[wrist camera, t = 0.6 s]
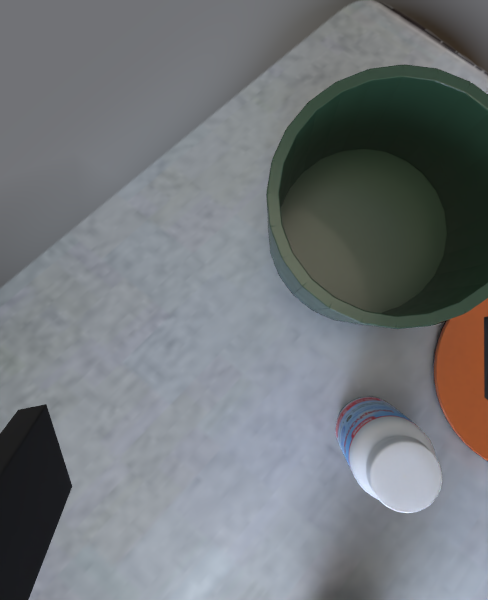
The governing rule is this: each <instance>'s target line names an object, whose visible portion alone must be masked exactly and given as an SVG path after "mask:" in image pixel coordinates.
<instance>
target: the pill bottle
mask: <svg viewBox="0 0 488 600" xmlns="http://www.w3.org/2000/svg"><path fill="white" fill-rule="evenodd" d="M336 437H337V441H338V444H339V446H340V448H341V450H342V452H343V454H344V456H345V458H346V460H347V462H348V464H349V467H350V469H351V471H352V473H353V475H354V477H355V479H356V480H357V482H358V484H359V485H360V486H361V487H362V488H363V489H364V490H365V491H366V492H367V493H368V494H370V495H371V496H373V497H374V498H376V499H378V500H380V501H381V502H382V503H383V504H384V505H385V506H387V507H388V508H390V509H392V510H394V511H397V512H402V513H413V512H418V511H420V510H423V509H425V508H426V507H428V506H429V505H431V504H432V503H433V501H434V500H435V499H436V497H437V496H438V494H439V492H440V490H441V486H442V470H441V466H440V464H439V462H438V460H437V458H436V455H435V451H434V448H433V445H432V443H431V441H430V439H429V438H428V437H427V435H426V434H425V433H424V432H423V431H422V430H421V429H420V428H419V427H418V426H417V425H416V424H414V423H413V422H412V421H411V420H410V419H408V418H407V417H406V416H405V415H403V414H402V413H401V412H400V411H398V410H397V409H396V408H395V407H393V406H392V405H391V404H389V403H387V402H386V401H384V400H382V399H379V398H375V397H362V398H358V399H355V400H353V401H351V402H350V403H349V404H347V405H346V406H345V407H344V408H343V409H342V411H341V412H340V414H339V416H338V419H337V422H336Z"/></svg>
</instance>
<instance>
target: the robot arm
mask: <svg viewBox="0 0 488 600" xmlns="http://www.w3.org/2000/svg"><path fill="white" fill-rule="evenodd" d="M484 398H486V399H487V400H488V316H487V317H484ZM71 488H72V484H71V481H70V478H69V475H68V472H67V469H66V465H65V462H64V459H63V456H62V453H61V450H60V446H59V443H58V440H57V437H56V434H55V431H54V427H53V424H52V421H51V418H50V415H49V412H48V409H47V405H41V406H36V407H31V408H26V409H21V410H18V411H17V412H16V414H15V415H14V416H13V418H12V419H11V420H10V422H9V423H8V424H7V426H6V427H5V428H4V430H3V431H2V432H1V433H0V600H28V599H29V597H30V594H31V591H32V589H33V586H34V584H35V581H36V578H37V576H38V573H39V571H40V568H41V565H42V563H43V560H44V558H45V555H46V553H47V550H48V547H49V545H50V542H51V540H52V537H53V534H54V532H55V529H56V527H57V524H58V522H59V519H60V516H61V514H62V511H63V509H64V506H65V503H66V501H67V498H68V496H69V493H70V490H71Z"/></svg>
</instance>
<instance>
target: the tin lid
mask: <svg viewBox="0 0 488 600" xmlns="http://www.w3.org/2000/svg"><path fill="white" fill-rule="evenodd" d="M487 316H488V298H487V299H486V300H484V301H483V302H482V303H480V304H479V305H477V306H476V307H474V308H473V309H472V310H470V311H469V312H467V313H465V314H463V315H460V316H457V317H455V318H452V319H449V320H447V321H446V323H445V325H444V327H443V329H442V331H441V334H440V337H439V339H438V343H437V347H436V352H435V359H434V381H435V387H436V392H437V396H438V399H439V402H440V406H441V408H442V410H443V412H444V414H445V417H446V419H447V420H448V422H449V424H450V425H451V427H452V428H453V430H454V431H455V432H456V434H457V435H458V436H459V437H460V438H461V440H462V441H463V442H464V443H465V444H466V445H467V446H468V447H470V448H471V449H472V450H473V451H474V452H475V453H477V454H478V455H480V456H481V457H482V458H484V459H485V460H487V461H488V400H487V399H486V398H484V317H487Z"/></svg>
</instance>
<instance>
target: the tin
mask: <svg viewBox="0 0 488 600" xmlns="http://www.w3.org/2000/svg"><path fill="white" fill-rule="evenodd" d="M267 213H268V231H269V242H270V252H271V255H272V258H273V261H274V264H275V266H276V269H277V271H278V274H279V276H280V277H281V279H282V280H283V282H284V283H285V285H286V286H287V287H288V288H289V290H290V291H291V293H292V294H293V295H294V296H295V297H297V298H298V299H299V300H300V301H301V302H302V303H303V304H305V305H306V306H308V307H309V308H310V309H312V310H313V311H315V312H317V313H319V314H321V315H324V316H326V317H328V318H331V319H333V320H337V321H343V322H349V323H354V324H361V325H369V326H377V327H385V328H393V329H401V328H412V327H423V326H431V325H435V324H438V323H441V322H444V321H446V320H449V319H452V318H455V317H457V316H460V315H463V314H465V313H467V312H469V311H470V310H472V309H473V308H474V307H476V306H477V305H479V304H480V303H482V302H483V301H484V300H486V299H487V298H488V94H486V93H485V92H484V91H482V90H481V89H480V88H478V87H477V86H476V85H474V84H473V83H470V82H469V81H467V80H464V79H462V78H459V77H457V76H454V75H452V74H449V73H447V72H444V71H442V70H438V69H436V68H428V67H420V66H412V65H396V66H388V67H381V68H373V69H369V70H365V71H363V72H360V73H358V74H355V75H353V76H350V77H347V78H345V79H342V80H340V81H337V82H335V83H334V84H333V85H331V86H330V87H328V88H327V89H326V90H324V91H323V92H322V93H320V94H319V95H317V96H316V97H315V98H313V99H312V100H311V101H309V102H308V103H307V104H306V106H305V107H304V108H303V109H302V110H301V112H300V113H299V114H298V115H297V116H296V118H295V119H294V120H293V121H292V123H291V124H290V125H289V126H288V127H287V129H286V131H285V133H284V135H283V137H282V139H281V141H280V144H279V146H278V148H277V150H276V152H275V155H274V157H273V160H272V163H271V169H270V175H269V181H268V187H267Z"/></svg>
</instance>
